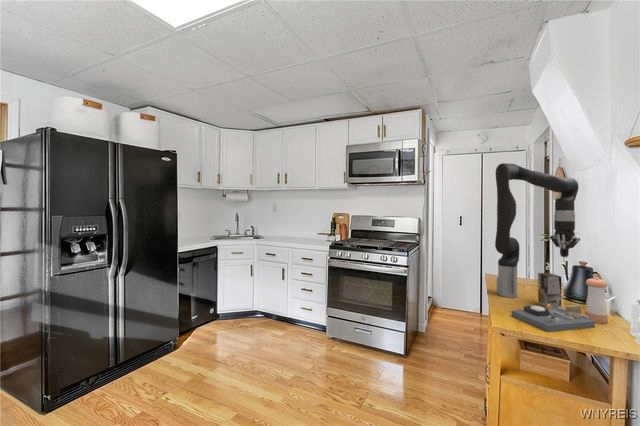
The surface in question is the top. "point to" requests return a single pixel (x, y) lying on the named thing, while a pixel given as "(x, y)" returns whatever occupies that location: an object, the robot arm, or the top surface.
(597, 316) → the pepper shaker
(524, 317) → the control panel
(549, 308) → the toggle lever
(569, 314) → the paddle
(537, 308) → the push button
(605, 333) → the top surface
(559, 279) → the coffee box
